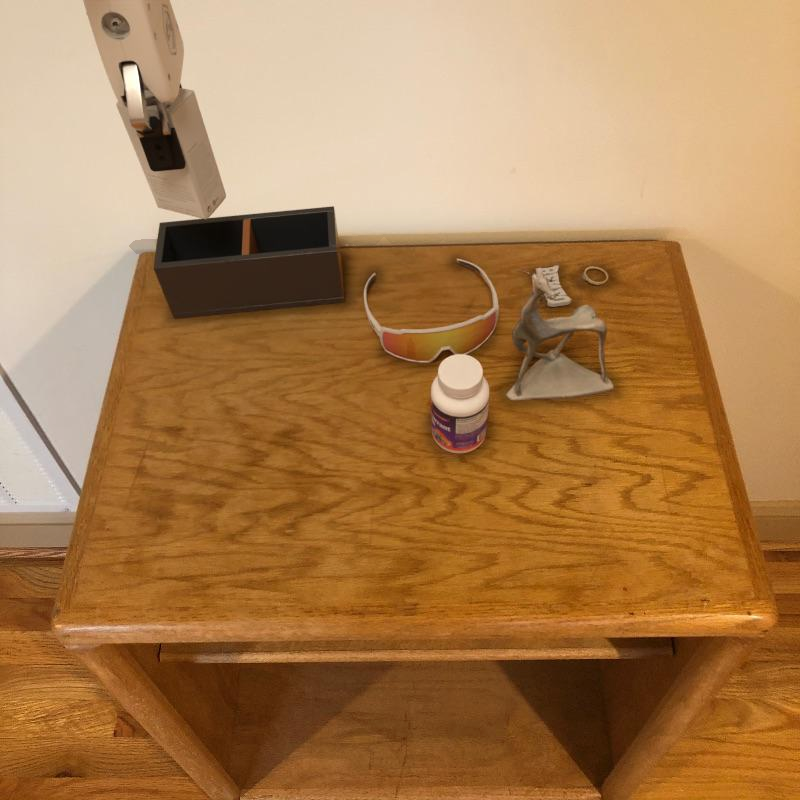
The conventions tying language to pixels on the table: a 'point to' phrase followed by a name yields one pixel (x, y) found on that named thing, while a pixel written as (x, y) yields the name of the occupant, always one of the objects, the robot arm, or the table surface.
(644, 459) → the table surface
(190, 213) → the cosmetic box
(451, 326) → the sunglasses
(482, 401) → the pill bottle
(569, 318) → the figurine
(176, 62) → the robot arm
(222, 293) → the caddy
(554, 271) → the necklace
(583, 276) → the ring
